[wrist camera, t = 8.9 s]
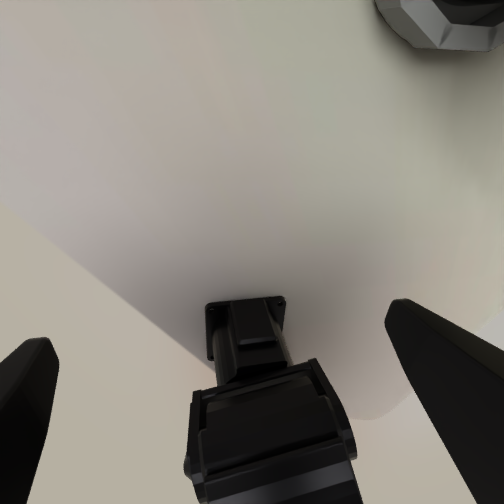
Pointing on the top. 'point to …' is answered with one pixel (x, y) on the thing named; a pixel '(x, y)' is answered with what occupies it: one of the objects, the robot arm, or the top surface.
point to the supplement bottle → (471, 2)
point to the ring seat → (445, 24)
